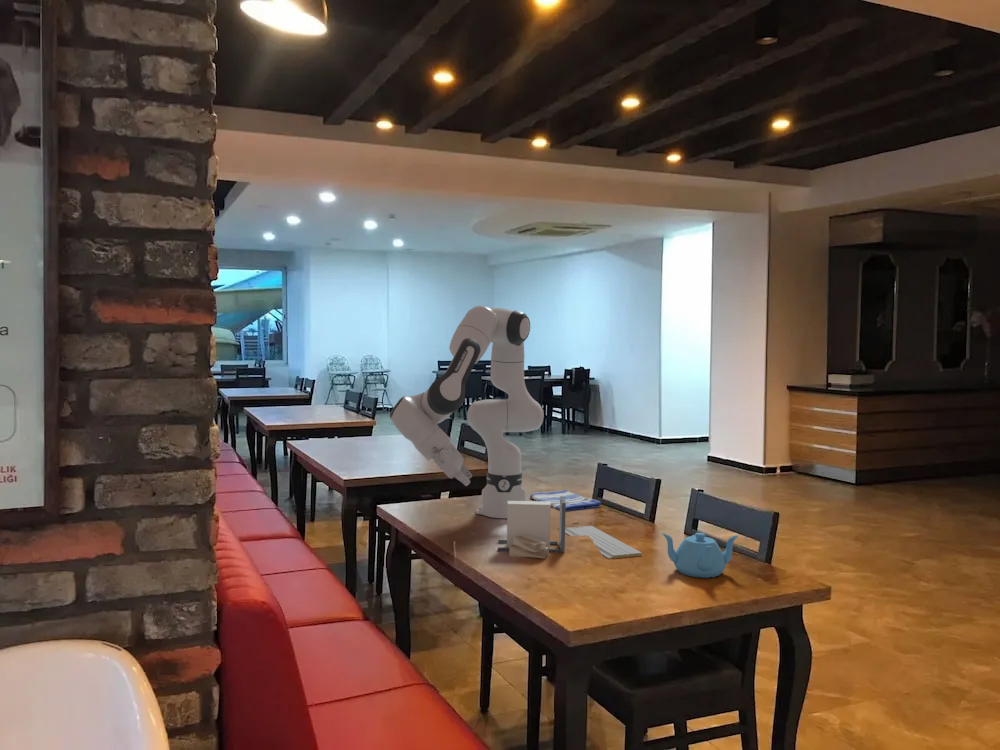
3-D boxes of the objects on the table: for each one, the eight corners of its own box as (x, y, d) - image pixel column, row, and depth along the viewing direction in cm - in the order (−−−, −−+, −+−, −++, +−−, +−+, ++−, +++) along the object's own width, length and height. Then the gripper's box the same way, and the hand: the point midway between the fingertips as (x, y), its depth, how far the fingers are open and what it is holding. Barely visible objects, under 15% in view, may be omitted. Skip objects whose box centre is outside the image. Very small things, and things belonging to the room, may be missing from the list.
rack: (498, 546, 222) (499, 495, 221) (562, 548, 222) (563, 496, 221) (497, 555, 213) (498, 501, 212) (564, 556, 213) (565, 503, 212)
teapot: (692, 560, 212) (693, 523, 211) (741, 573, 201) (742, 534, 200) (659, 571, 202) (660, 532, 202) (709, 585, 191) (711, 544, 190)
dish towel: (566, 495, 296) (567, 488, 295) (603, 508, 275) (603, 500, 275) (527, 499, 287) (528, 492, 287) (562, 513, 267) (562, 505, 266)
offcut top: (524, 542, 214) (524, 535, 214) (545, 549, 207) (545, 542, 207) (513, 544, 212) (513, 537, 212) (534, 552, 205) (534, 544, 205)
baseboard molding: (603, 561, 211) (641, 558, 215) (603, 551, 211) (642, 547, 215) (556, 533, 240) (591, 530, 245) (557, 523, 240) (591, 521, 244)
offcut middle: (513, 550, 213) (513, 543, 213) (548, 554, 210) (548, 547, 210) (509, 554, 209) (509, 547, 209) (544, 558, 206) (544, 551, 206)
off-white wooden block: (506, 549, 219) (507, 500, 219) (548, 550, 219) (550, 501, 218) (506, 553, 216) (507, 503, 215) (549, 554, 215) (550, 504, 214)
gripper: (439, 442, 206) (475, 480, 206) (446, 433, 226) (479, 467, 226) (422, 459, 206) (458, 496, 206) (431, 448, 226) (463, 482, 227)
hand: (469, 481), depth 216 cm, fingers open, 8 cm apart
